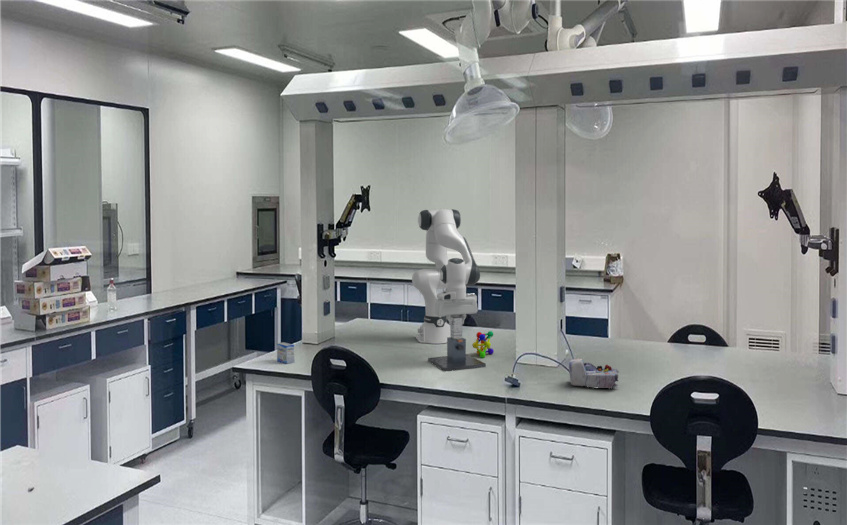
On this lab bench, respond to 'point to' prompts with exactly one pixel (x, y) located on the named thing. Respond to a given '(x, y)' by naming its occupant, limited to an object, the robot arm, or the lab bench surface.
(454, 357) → the dark grey socket base
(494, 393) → the lab bench surface
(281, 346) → the medicine box
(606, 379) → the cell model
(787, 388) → the lab bench surface
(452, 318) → the post
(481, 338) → the molecular model
